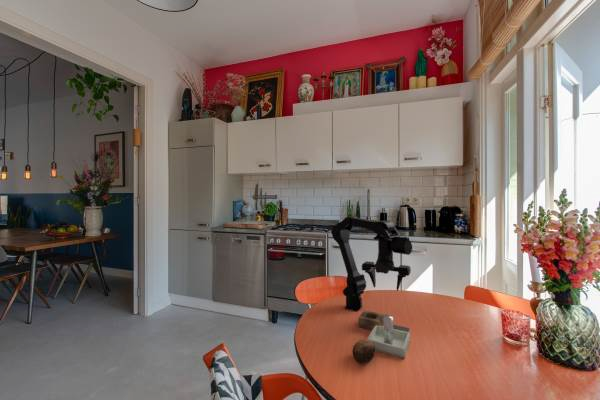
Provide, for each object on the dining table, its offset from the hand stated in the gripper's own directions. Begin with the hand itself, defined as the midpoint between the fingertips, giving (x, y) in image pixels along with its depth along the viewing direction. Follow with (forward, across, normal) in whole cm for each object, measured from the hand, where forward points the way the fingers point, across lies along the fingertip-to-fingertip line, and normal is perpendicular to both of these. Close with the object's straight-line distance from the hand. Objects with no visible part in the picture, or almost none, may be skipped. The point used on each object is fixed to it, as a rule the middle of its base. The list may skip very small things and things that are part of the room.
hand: (385, 288), depth 112 cm
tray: (+13, +5, -19) cm, 24 cm away
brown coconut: (+13, 0, -32) cm, 35 cm away
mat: (+13, +6, -7) cm, 16 cm away
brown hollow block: (+13, -4, -8) cm, 16 cm away
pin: (+12, +5, -19) cm, 23 cm away
